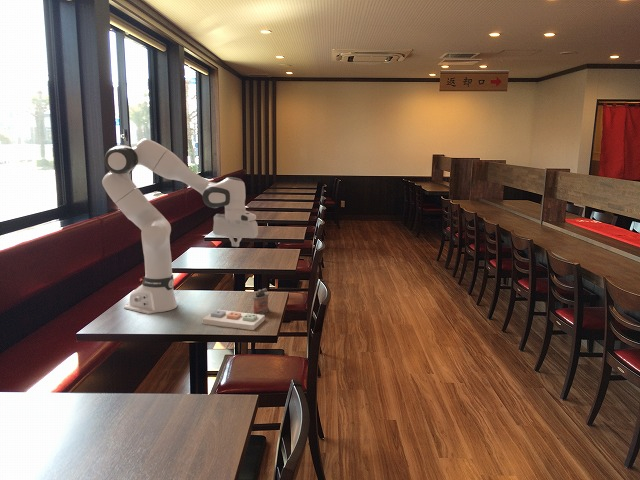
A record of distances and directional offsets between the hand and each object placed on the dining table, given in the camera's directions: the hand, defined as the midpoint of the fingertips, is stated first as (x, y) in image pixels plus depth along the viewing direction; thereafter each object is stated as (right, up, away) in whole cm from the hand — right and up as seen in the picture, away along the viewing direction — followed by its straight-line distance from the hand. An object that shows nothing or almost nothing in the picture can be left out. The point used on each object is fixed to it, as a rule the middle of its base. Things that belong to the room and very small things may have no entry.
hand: (235, 246), depth 223 cm
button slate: (-5, -30, -14) cm, 33 cm away
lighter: (+12, -28, -4) cm, 31 cm away
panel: (+2, -30, -16) cm, 34 cm away
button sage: (+9, -31, -18) cm, 37 cm away
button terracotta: (+2, -30, -16) cm, 34 cm away
